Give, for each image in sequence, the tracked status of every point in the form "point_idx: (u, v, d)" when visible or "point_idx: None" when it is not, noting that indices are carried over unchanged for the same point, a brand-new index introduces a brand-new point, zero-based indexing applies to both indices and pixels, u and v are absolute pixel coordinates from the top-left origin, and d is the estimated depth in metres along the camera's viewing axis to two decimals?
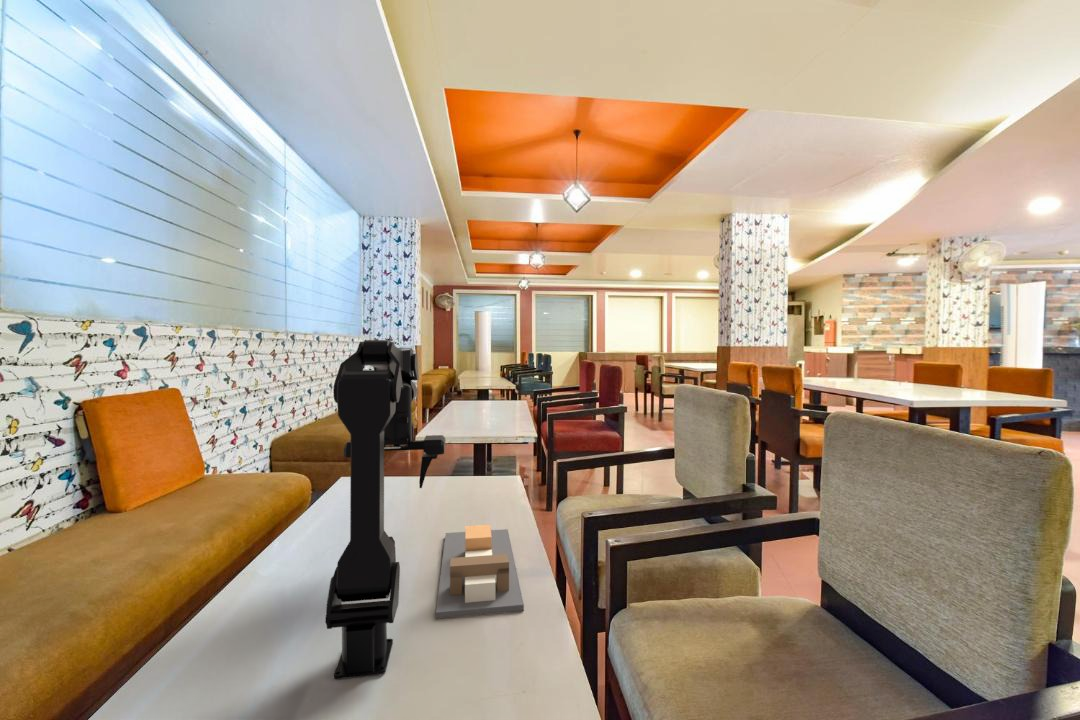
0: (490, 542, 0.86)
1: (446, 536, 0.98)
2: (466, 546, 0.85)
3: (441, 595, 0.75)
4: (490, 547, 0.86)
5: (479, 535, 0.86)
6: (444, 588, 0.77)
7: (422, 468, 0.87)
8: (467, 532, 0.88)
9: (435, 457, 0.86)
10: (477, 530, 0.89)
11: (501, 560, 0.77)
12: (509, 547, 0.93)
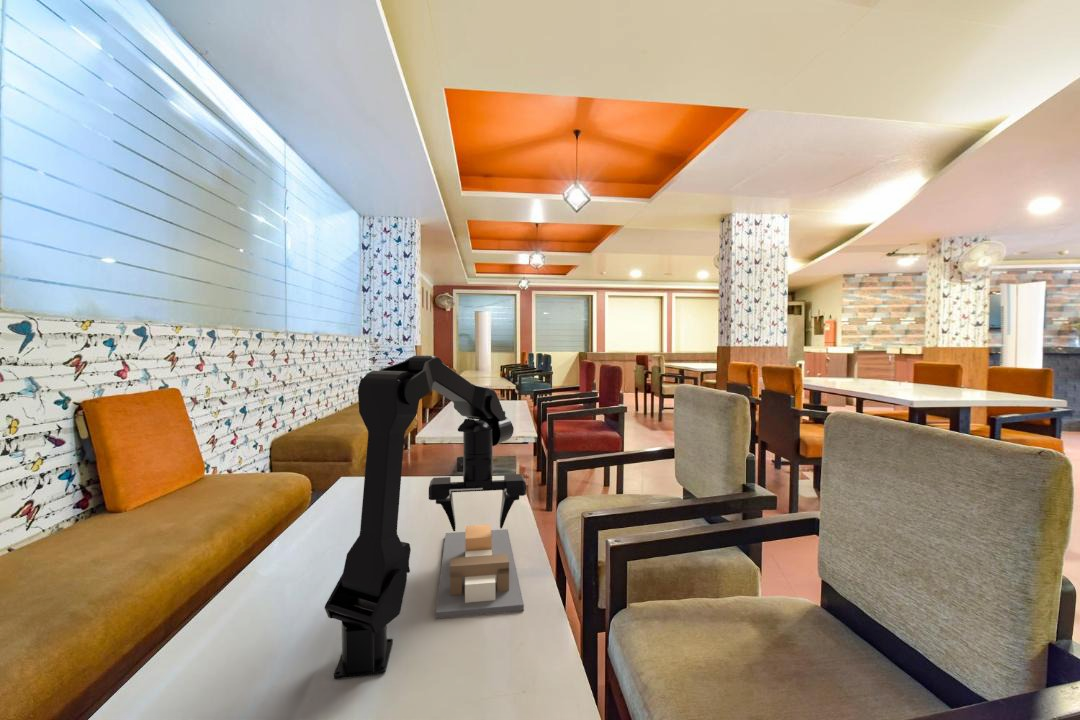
0: (490, 542, 0.86)
1: (446, 536, 0.98)
2: (466, 546, 0.85)
3: (441, 595, 0.75)
4: (490, 547, 0.86)
5: (479, 535, 0.86)
6: (444, 588, 0.77)
7: (504, 509, 0.87)
8: (467, 532, 0.88)
9: (517, 498, 0.86)
10: (477, 530, 0.89)
11: (501, 560, 0.77)
12: (509, 547, 0.93)
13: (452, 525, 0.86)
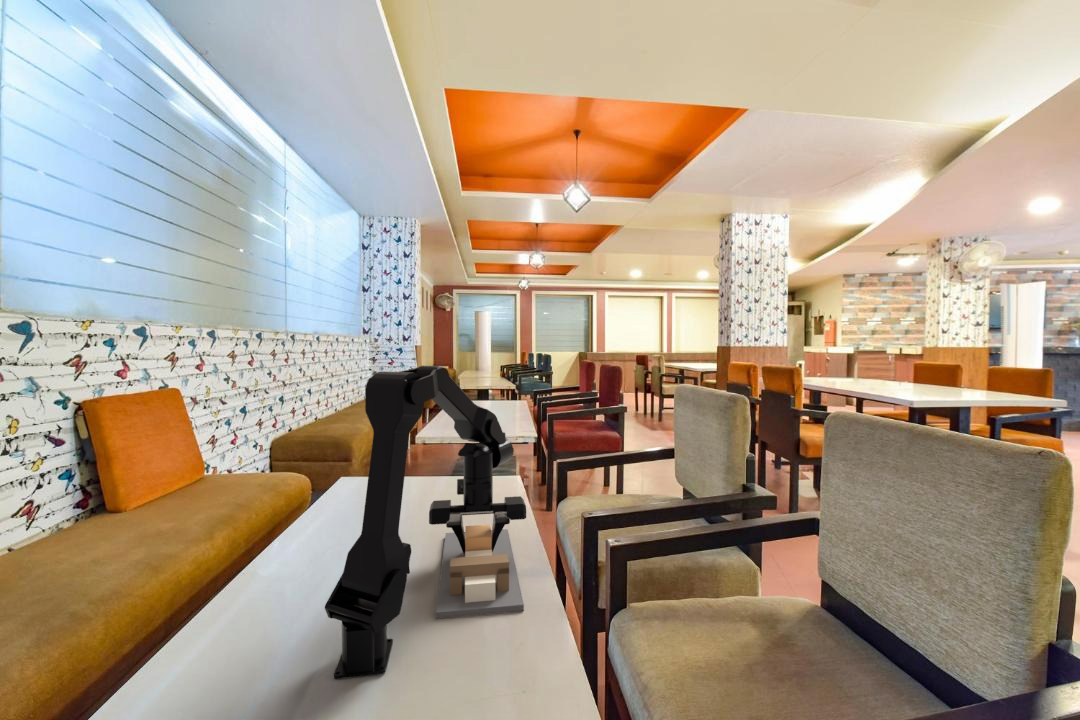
0: (490, 542, 0.86)
1: (446, 536, 0.98)
2: (466, 546, 0.85)
3: (441, 595, 0.75)
4: (490, 547, 0.86)
5: (479, 535, 0.86)
6: (444, 588, 0.77)
7: (495, 533, 0.87)
8: (467, 532, 0.88)
9: (508, 522, 0.86)
10: (477, 530, 0.89)
11: (501, 560, 0.77)
12: (509, 547, 0.93)
13: (462, 548, 0.87)
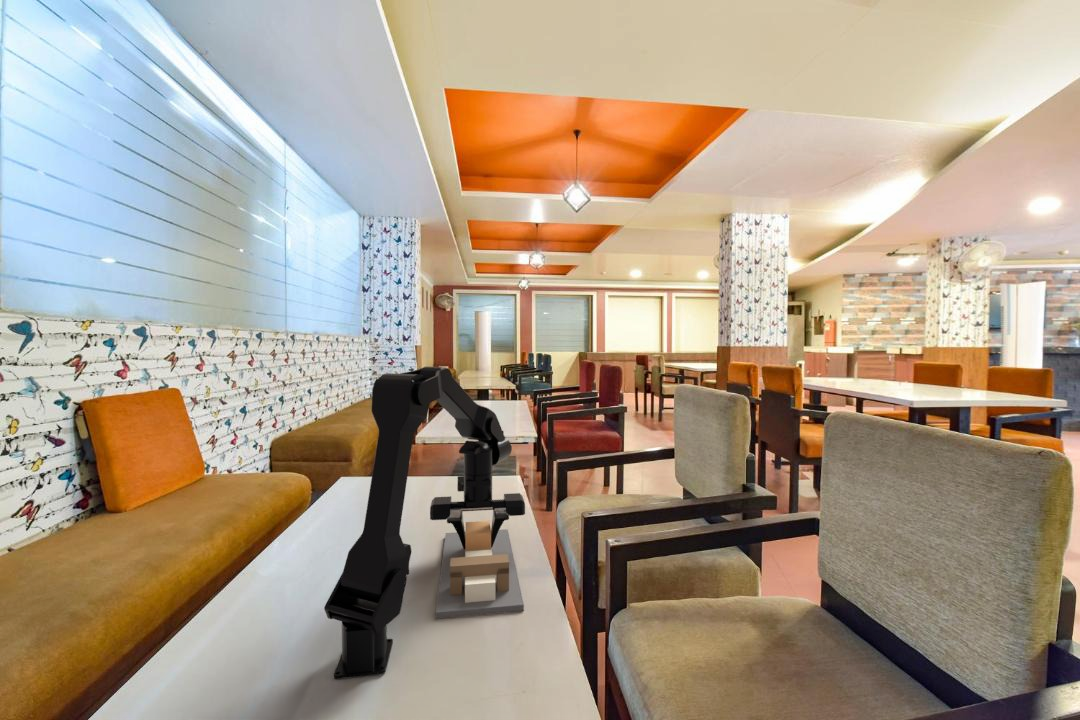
0: (490, 538, 0.88)
1: (446, 536, 0.98)
2: (466, 541, 0.87)
3: (441, 595, 0.75)
4: (490, 542, 0.88)
5: (478, 531, 0.88)
6: (444, 588, 0.77)
7: (494, 529, 0.89)
8: (467, 528, 0.90)
9: (507, 518, 0.88)
10: (477, 525, 0.91)
11: (501, 560, 0.77)
12: (509, 547, 0.93)
13: (462, 543, 0.89)
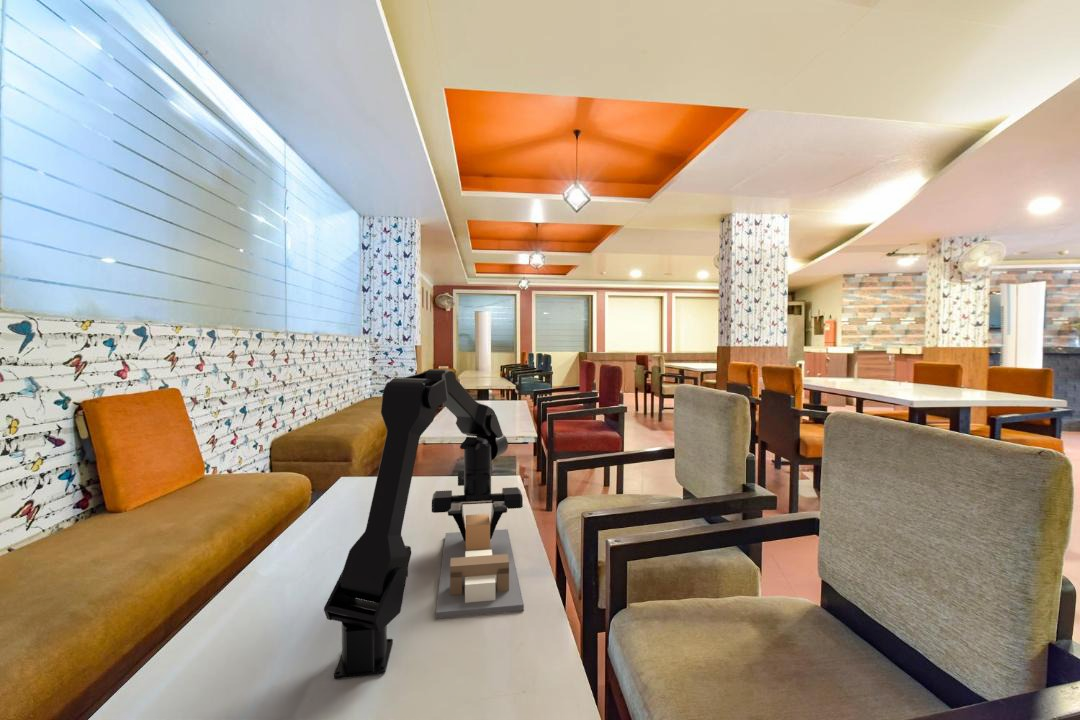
0: (489, 529, 0.92)
1: (446, 536, 0.98)
2: (466, 533, 0.91)
3: (441, 595, 0.75)
4: (489, 534, 0.92)
5: (478, 523, 0.92)
6: (444, 588, 0.77)
7: (493, 521, 0.93)
8: (467, 520, 0.94)
9: (505, 511, 0.92)
10: (477, 518, 0.95)
11: (501, 560, 0.77)
12: (509, 547, 0.93)
13: (463, 535, 0.93)
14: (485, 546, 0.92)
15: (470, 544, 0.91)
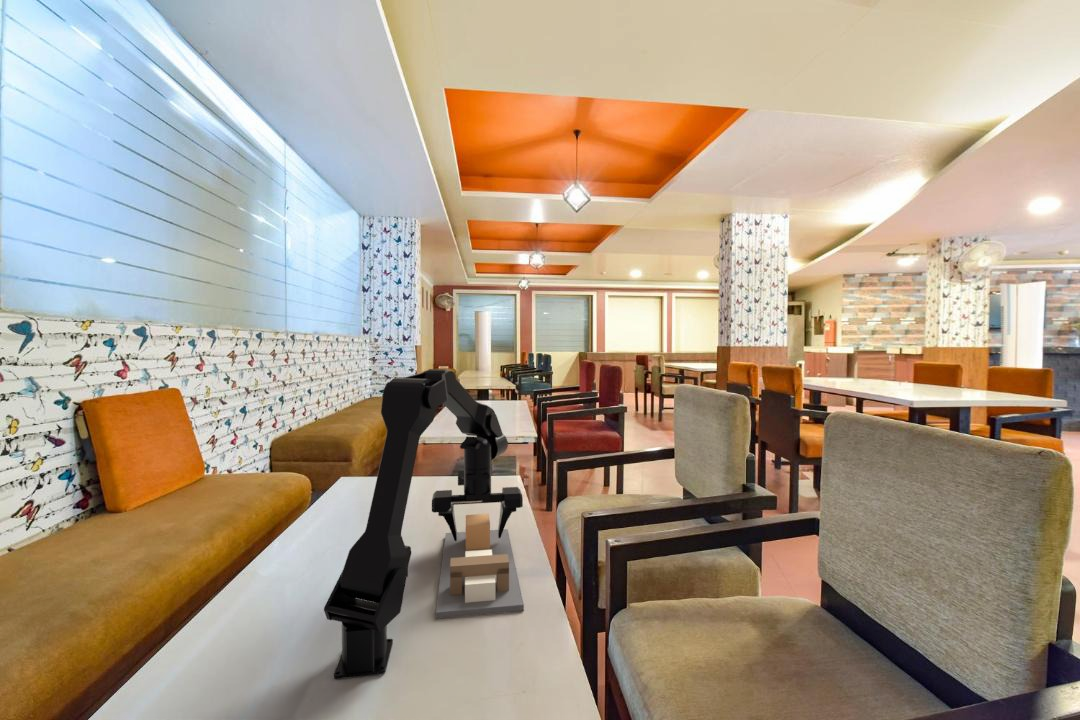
0: (489, 529, 0.92)
1: (446, 536, 0.98)
2: (466, 533, 0.91)
3: (441, 595, 0.75)
4: (489, 534, 0.92)
5: (478, 523, 0.92)
6: (444, 588, 0.77)
7: (502, 520, 0.93)
8: (467, 520, 0.94)
9: (515, 510, 0.93)
10: (477, 518, 0.95)
11: (501, 560, 0.77)
12: (509, 547, 0.93)
13: (453, 535, 0.92)
14: (485, 546, 0.92)
15: (470, 544, 0.91)
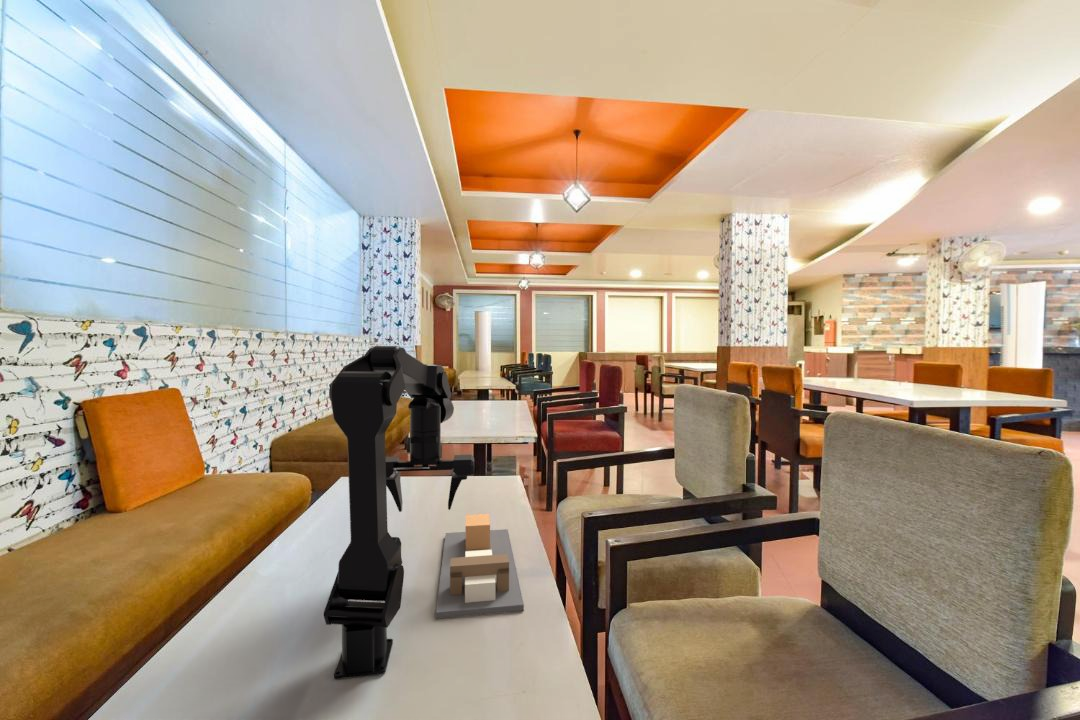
0: (489, 529, 0.92)
1: (446, 536, 0.98)
2: (466, 533, 0.91)
3: (441, 595, 0.75)
4: (489, 534, 0.92)
5: (478, 523, 0.92)
6: (444, 588, 0.77)
7: (451, 489, 0.84)
8: (467, 520, 0.94)
9: (465, 478, 0.84)
10: (477, 518, 0.95)
11: (501, 560, 0.77)
12: (509, 547, 0.93)
13: (397, 505, 0.84)
14: (485, 546, 0.92)
15: (470, 544, 0.91)
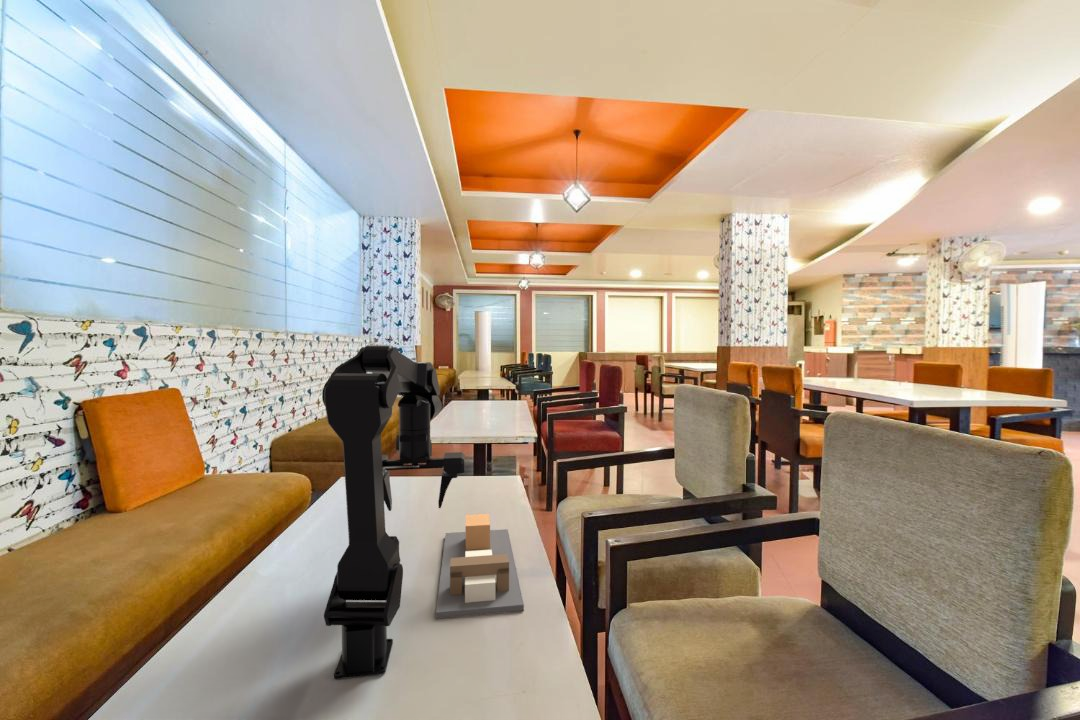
0: (489, 529, 0.92)
1: (446, 536, 0.98)
2: (466, 533, 0.91)
3: (441, 595, 0.75)
4: (489, 534, 0.92)
5: (478, 523, 0.92)
6: (444, 588, 0.77)
7: (441, 488, 0.83)
8: (467, 520, 0.94)
9: (455, 476, 0.83)
10: (477, 518, 0.95)
11: (501, 560, 0.77)
12: (509, 547, 0.93)
13: (387, 504, 0.83)
14: (485, 546, 0.92)
15: (470, 544, 0.91)
